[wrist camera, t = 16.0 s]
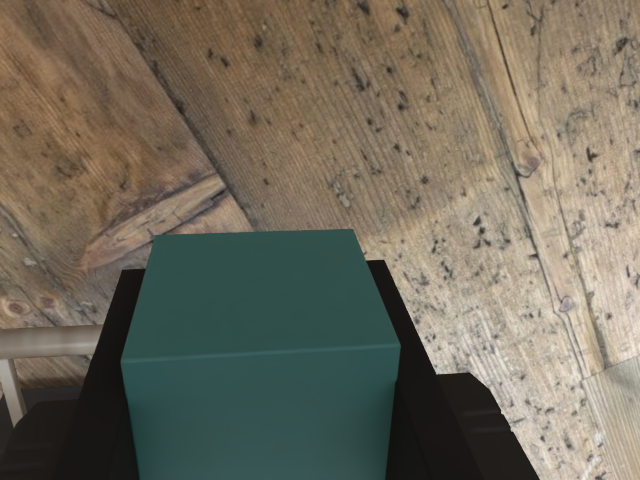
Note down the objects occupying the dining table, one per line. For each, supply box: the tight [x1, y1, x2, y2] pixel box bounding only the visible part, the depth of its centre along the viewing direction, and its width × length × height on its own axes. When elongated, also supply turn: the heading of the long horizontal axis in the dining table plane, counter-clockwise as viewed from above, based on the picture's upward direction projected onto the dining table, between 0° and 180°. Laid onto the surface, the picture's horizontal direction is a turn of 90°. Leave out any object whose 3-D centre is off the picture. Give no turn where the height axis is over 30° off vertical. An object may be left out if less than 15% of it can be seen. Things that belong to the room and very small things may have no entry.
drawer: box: [0, 325, 103, 458], centre depth 34 cm, size 21×12×8 cm, turn 178°
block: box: [120, 229, 401, 480], centre depth 12 cm, size 4×4×4 cm
